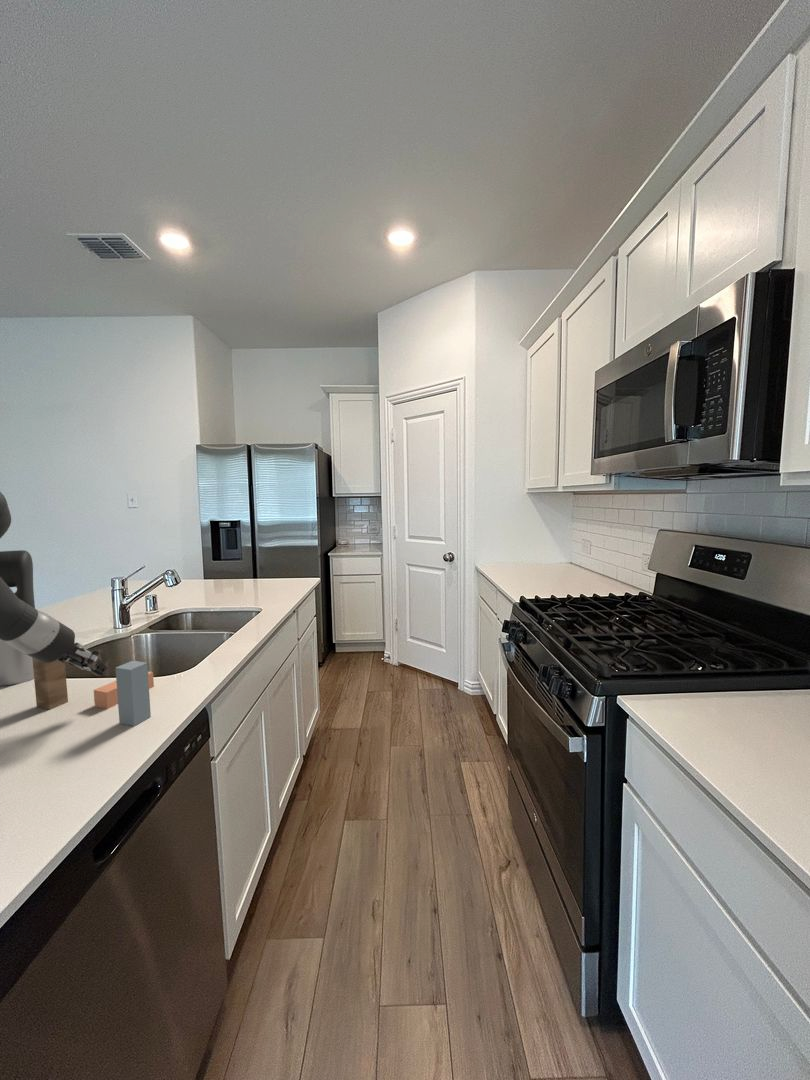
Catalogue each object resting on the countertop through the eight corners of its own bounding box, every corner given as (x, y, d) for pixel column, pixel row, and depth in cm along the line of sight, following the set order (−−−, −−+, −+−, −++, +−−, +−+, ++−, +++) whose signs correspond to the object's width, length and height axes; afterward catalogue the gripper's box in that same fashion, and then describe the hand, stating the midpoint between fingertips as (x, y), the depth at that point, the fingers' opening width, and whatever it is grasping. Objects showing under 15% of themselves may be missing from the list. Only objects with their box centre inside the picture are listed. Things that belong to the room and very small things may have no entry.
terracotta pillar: (93, 690, 99) (140, 670, 111) (94, 707, 100) (141, 685, 111) (106, 692, 98) (153, 672, 109) (107, 709, 98) (153, 687, 110)
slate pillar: (119, 723, 92) (115, 667, 91) (136, 714, 96) (132, 660, 95) (134, 726, 91) (130, 669, 90) (150, 716, 95) (147, 662, 94)
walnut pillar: (36, 707, 99) (32, 655, 98) (55, 699, 103) (51, 649, 102) (49, 709, 98) (45, 657, 97) (68, 701, 102) (63, 651, 101)
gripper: (76, 621, 86) (135, 659, 99) (28, 615, 90) (91, 653, 103) (50, 657, 82) (115, 692, 95) (1, 649, 86) (70, 684, 99)
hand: (102, 671), depth 99 cm, fingers closed
